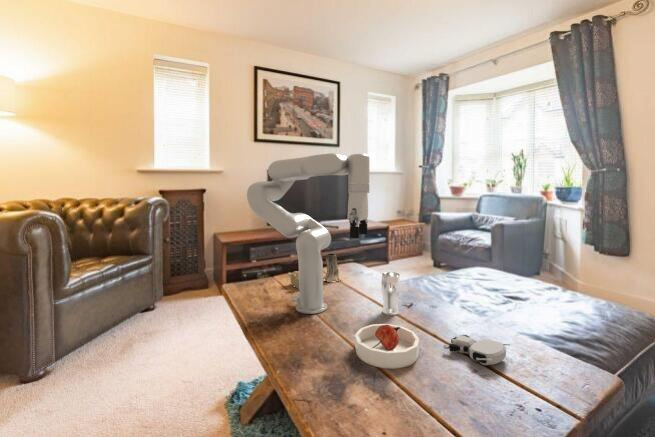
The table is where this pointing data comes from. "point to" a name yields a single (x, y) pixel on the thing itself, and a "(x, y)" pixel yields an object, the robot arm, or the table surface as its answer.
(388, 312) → the beer glass
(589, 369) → the table surface
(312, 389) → the table surface
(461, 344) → the robot toy
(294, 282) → the cat figurine
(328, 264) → the tree stump
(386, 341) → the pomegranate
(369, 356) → the fruit bowl
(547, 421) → the table surface
